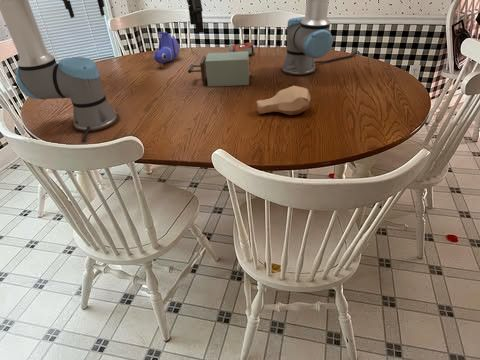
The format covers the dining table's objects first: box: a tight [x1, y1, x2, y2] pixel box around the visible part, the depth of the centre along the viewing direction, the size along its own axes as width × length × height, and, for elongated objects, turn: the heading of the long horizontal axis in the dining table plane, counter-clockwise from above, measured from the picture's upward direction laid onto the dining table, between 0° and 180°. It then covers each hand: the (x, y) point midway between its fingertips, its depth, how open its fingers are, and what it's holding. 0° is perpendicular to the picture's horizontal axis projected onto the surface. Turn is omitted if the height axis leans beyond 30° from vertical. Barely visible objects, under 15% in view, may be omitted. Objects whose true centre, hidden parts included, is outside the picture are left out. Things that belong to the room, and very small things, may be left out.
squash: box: [255, 85, 312, 116], centre depth 130 cm, size 11×20×9 cm, turn 92°
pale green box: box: [205, 51, 250, 87], centre depth 157 cm, size 18×11×11 cm, turn 88°
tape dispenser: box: [228, 42, 255, 57], centre depth 185 cm, size 18×5×20 cm
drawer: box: [187, 55, 207, 85], centre depth 158 cm, size 23×10×9 cm, turn 88°
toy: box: [152, 31, 180, 69], centre depth 182 cm, size 10×17×25 cm
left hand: (87, 16), depth 157 cm, fingers open, 13 cm apart
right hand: (197, 28), depth 132 cm, fingers open, 13 cm apart
